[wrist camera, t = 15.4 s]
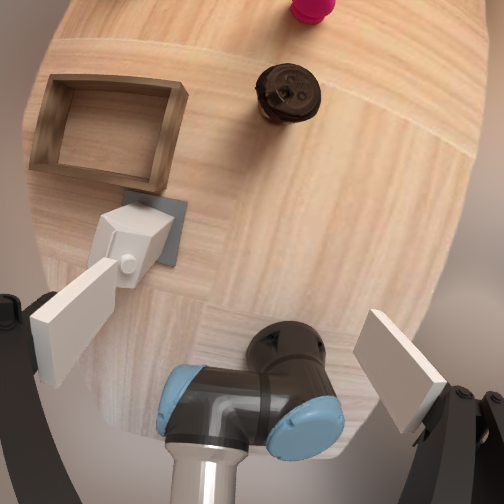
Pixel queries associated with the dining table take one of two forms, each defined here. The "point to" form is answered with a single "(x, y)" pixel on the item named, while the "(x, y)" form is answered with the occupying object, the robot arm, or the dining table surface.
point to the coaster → (168, 207)
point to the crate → (65, 84)
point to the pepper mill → (312, 10)
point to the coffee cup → (287, 94)
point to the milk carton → (131, 240)
